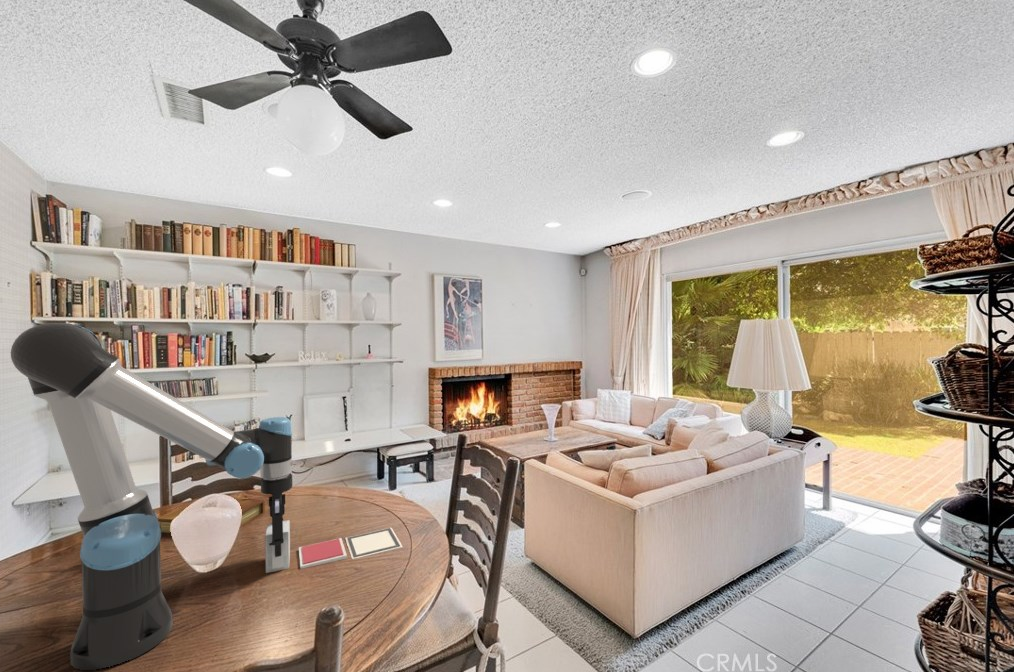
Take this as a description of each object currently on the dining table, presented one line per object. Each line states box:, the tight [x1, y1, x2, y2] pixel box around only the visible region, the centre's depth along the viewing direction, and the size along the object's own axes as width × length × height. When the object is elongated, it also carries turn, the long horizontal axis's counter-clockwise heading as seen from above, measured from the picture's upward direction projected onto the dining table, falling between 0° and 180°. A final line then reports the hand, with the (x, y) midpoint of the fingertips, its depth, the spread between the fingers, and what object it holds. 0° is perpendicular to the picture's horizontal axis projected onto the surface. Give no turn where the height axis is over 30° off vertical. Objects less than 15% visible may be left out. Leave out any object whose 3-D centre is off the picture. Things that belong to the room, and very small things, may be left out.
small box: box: [264, 519, 291, 574], centre depth 116 cm, size 8×6×10 cm
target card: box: [344, 527, 404, 560], centre depth 128 cm, size 14×14×1 cm
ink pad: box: [298, 537, 348, 570], centre depth 121 cm, size 12×12×2 cm
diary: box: [157, 497, 266, 534], centre depth 142 cm, size 23×19×6 cm
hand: (278, 559), depth 116 cm, fingers closed on small box, 8 cm apart
